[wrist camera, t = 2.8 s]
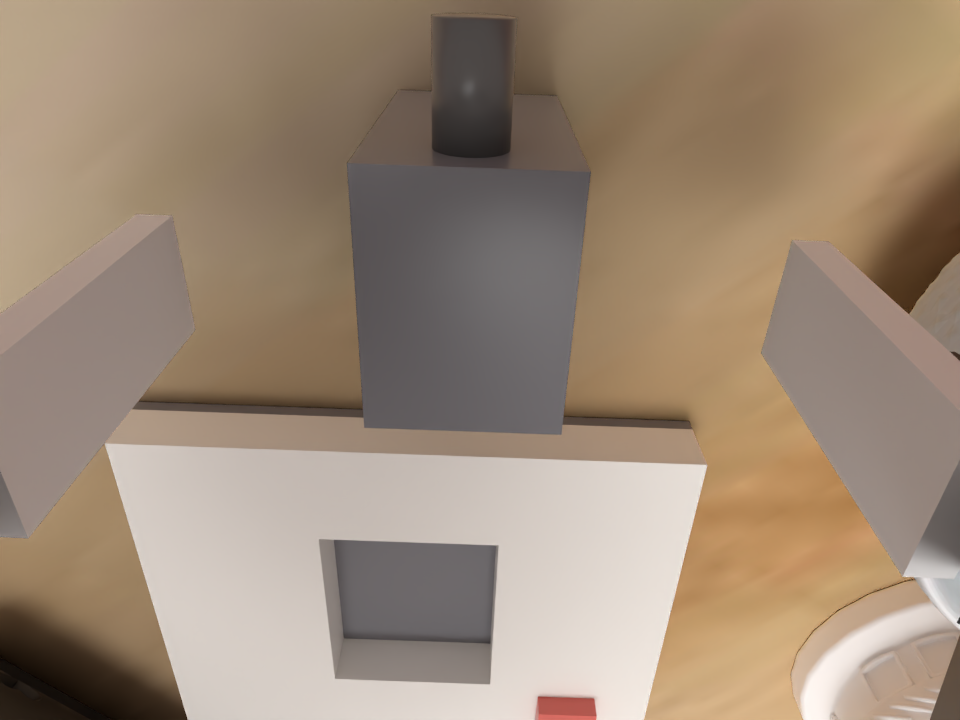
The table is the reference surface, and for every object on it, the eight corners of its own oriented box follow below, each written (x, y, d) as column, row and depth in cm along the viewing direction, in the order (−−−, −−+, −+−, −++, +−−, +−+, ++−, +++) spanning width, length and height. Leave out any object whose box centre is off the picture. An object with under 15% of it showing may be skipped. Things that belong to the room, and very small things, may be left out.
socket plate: (210, 679, 33) (183, 747, 30) (138, 401, 25) (92, 458, 22) (627, 694, 33) (640, 763, 30) (689, 421, 25) (713, 480, 22)
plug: (540, 288, 23) (561, 435, 16) (403, 283, 23) (364, 427, 16) (564, 0, 19) (606, 27, 12) (395, -6, 19) (337, 19, 12)
